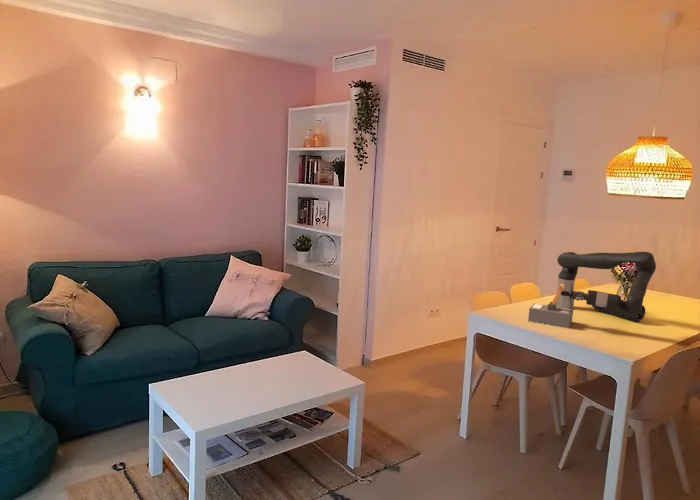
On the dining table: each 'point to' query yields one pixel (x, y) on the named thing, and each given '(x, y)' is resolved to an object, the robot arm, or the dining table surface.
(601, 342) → the dining table surface
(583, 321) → the dining table surface
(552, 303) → the lever
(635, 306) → the robot arm
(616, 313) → the muzzle brake
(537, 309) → the breaker housing
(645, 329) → the dining table surface
